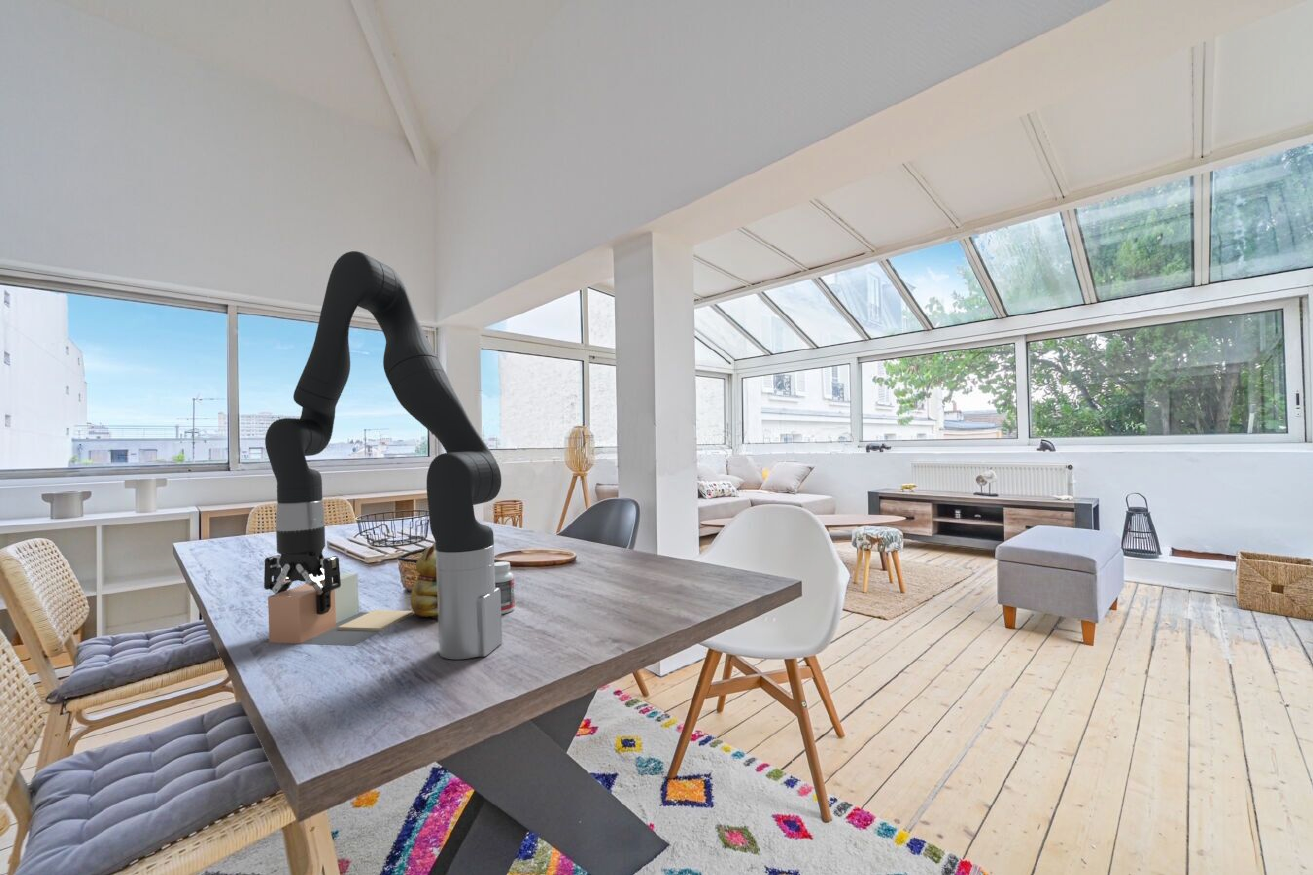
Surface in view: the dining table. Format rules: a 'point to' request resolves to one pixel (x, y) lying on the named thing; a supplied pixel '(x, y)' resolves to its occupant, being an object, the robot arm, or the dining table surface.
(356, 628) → the mat
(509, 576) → the pill bottle
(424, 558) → the decorative figurine
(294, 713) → the dining table surface
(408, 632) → the dining table surface
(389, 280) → the robot arm
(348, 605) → the pale green cube
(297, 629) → the clay brown brick
